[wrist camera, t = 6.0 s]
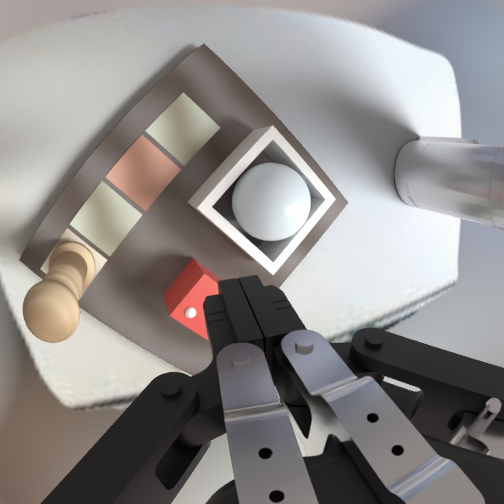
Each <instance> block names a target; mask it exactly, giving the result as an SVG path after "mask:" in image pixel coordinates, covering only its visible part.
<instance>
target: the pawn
mask: <svg viewBox="0 0 504 504" xmlns="http://www.w3.org/2000/svg"><path fill="white" fill-rule="evenodd" d="M94 272H95V260H94V257H93V254H92V253H91V251H90V250H89V249H88V248H87V247H86V246H85V245H83V244H82V243H79V242H76V241H68V242H64V243H62V244H60V245H59V246H58V247H57V248H56V249H55V250H54V252H53V253H52V255H51V257H50V260H49V271H48V273H47V274H46V276H45V277H44V279H43V280H42V281H41V282H38V283H37V284H35V285H34V286H32V287H31V288H30V290H29V291H28V292H27V294H26V296H25V299H24V302H23V317H24V320H25V323H26V325H27V327H28V329H29V330H30V331H31V333H32V334H33V335H34V336H36V337H37V338H38V339H40V340H42V341H45V342H49V343H57V342H61V341H64V340H66V339H67V338H69V337H70V336H71V335H72V334H73V333H74V331H75V330H76V328H77V326H78V323H79V319H80V308H79V303H78V301H79V297H80V294H81V291H82V289H84V288H86V287H87V286H88V285H89V284H90V282H91V281H92V278H93V275H94Z"/></svg>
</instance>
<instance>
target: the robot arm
mask: <svg viewBox="0 0 504 504" xmlns="http://www.w3.org/2000/svg"><path fill="white" fill-rule="evenodd" d="M395 183H396V188H397V191H398V193H399V195H400V197H401V199H402V200H403V202H405V203H406V204H407V205H409V206H412V207H417V208H421V209H425V210H429V211H433V212H437V213H441V214H445V215H449V216H453V217H457V218H461V219H465V220H469V221H472V222H476V223H480V224H483V225H487V226H491V227H494V228H498V229H501V230H504V147H500V146H491V145H480V144H479V143H478V141H477V140H475V139H466V138H465V139H464V138H449V137H420V138H419V139H418V140H416V141H410V142H407V143H406V144H405V145H404V146H403V147H402V149H401V150H400V152H399V154H398V156H397V160H396V164H395ZM218 292H219V294H216V295H210V296H206V298H205V300H204V303H203V311H204V317H205V323H206V329H207V335H208V340H209V344H210V349H211V353H212V357H213V359H212V361H211V363H210V364H209V366H208V367H207V368H206V369H204V370H203V371H202V372H200V373H198V374H195V375H193V376H191V377H190V376H188V375H186V374H184V373H180V372H168V373H164V374H162V375H159V376H157V377H156V378H155V379H153V380H152V381H151V382H150V383H149V385H148V386H147V387H146V388H145V389H144V390H143V391H142V392H141V394H140V395H139V396H138V397H137V398H136V399H135V400H134V401H133V402H132V404H131V405H130V406H129V407H128V408H127V409H126V410H125V411H124V413H123V414H122V415H121V416H120V417H119V418H118V419H117V420H116V421H115V423H114V424H113V425H112V426H111V427H110V428H109V429H108V430H107V432H106V433H105V434H104V435H103V436H102V437H101V438H100V439H99V441H97V443H96V444H95V445H94V446H93V447H92V448H91V449H90V450H89V451H88V452H87V454H86V455H85V456H84V457H83V458H82V459H81V460H80V461H79V462H78V463H77V465H76V466H75V467H74V468H73V469H72V470H71V471H70V472H69V473H68V474H67V475H66V477H65V478H64V479H63V480H62V481H61V482H60V483H59V484H58V485H57V486H56V487H55V489H54V490H53V491H52V492H51V493H50V494H49V495H48V496H47V498H45V499H44V500H43V502H42V503H41V504H171V503H172V501H173V500H174V498H175V497H176V496H177V494H178V493H179V491H180V490H181V488H182V487H183V485H184V484H185V483H186V481H187V480H188V478H189V477H190V475H191V474H192V472H193V471H194V469H195V468H196V466H197V465H198V463H199V462H200V460H201V459H202V457H203V456H204V454H205V453H206V451H207V450H208V448H209V446H210V444H211V440H213V439H215V438H217V437H218V436H221V435H223V434H225V433H227V439H228V444H229V450H230V456H231V462H232V467H233V472H234V478H235V479H234V480H232V481H230V482H229V483H227V484H225V485H224V486H223V487H221V488H220V489H219V490H218V491H216V492H215V493H214V494H213V495H212V496H211V498H210V499H209V500H208V501H207V502H206V504H504V368H502V367H499V366H495V365H492V364H489V363H485V362H482V361H479V360H475V359H472V358H469V357H466V356H462V355H459V354H456V353H453V352H449V351H446V350H443V349H440V348H437V347H433V346H430V345H427V344H424V343H421V342H418V341H415V340H411V339H408V338H405V337H402V336H399V335H396V334H393V333H390V332H387V331H384V330H381V329H378V328H364V329H361V330H359V331H357V332H356V333H355V334H354V336H353V338H352V342H350V343H328V342H327V340H326V339H325V338H324V337H323V336H322V335H321V334H319V333H317V332H315V331H312V330H307V329H306V327H305V326H304V324H303V323H302V321H301V320H300V318H299V316H298V315H297V313H296V312H295V310H294V308H293V307H292V305H291V304H290V302H289V301H288V299H287V297H286V296H285V294H284V293H283V291H282V290H280V289H279V288H277V287H275V286H274V285H268V286H263V284H262V282H261V280H260V278H259V277H258V275H257V274H256V275H250V276H244V277H238V279H237V278H232V279H226V280H220V281H218ZM385 376H386V377H389V378H392V379H395V380H398V381H401V382H404V383H406V384H409V385H412V386H415V387H418V388H420V389H421V391H419V392H414V391H410V390H407V389H405V388H402V387H399V386H396V385H393V384H390V383H387V382H385V381H383V379H384V377H385ZM274 386H276V389H277V391H278V393H279V396H280V403H281V405H280V403H279V400H278V397H277V394H276V390H275V387H274ZM292 426H293V427H294V429H295V431H296V433H297V435H298V436H299V438H300V440H301V442H302V444H303V446H304V450H305V455H306V457H302V454H301V451H300V448H299V445H298V442H297V439H296V436H295V433H294V430H293V427H292Z"/></svg>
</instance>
